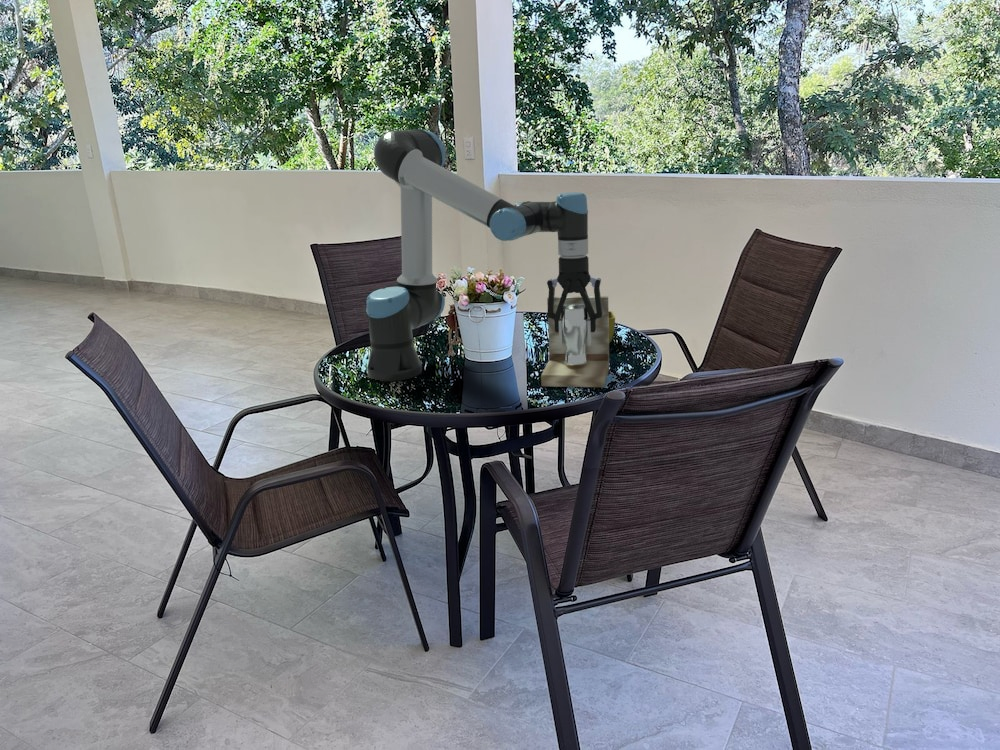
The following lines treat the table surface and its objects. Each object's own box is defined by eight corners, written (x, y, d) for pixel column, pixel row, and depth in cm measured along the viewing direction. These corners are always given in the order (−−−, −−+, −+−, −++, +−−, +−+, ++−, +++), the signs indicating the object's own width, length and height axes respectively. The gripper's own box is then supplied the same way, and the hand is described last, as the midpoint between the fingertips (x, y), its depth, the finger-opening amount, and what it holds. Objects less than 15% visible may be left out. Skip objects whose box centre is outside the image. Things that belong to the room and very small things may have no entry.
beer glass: (569, 357, 205) (568, 302, 200) (593, 359, 201) (592, 304, 197) (558, 364, 199) (556, 308, 195) (582, 367, 196) (580, 310, 191)
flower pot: (615, 347, 227) (615, 317, 224) (586, 348, 227) (585, 319, 224) (612, 339, 235) (611, 310, 232) (583, 340, 235) (583, 312, 233)
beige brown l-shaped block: (541, 386, 195) (538, 310, 189) (550, 368, 210) (548, 296, 204) (604, 387, 192) (603, 309, 186) (609, 368, 206) (608, 296, 200)
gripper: (532, 259, 191) (536, 347, 198) (611, 257, 186) (612, 348, 193) (537, 254, 198) (540, 340, 205) (613, 252, 193) (614, 340, 200)
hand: (575, 343), depth 199 cm, fingers closed on beer glass, 7 cm apart
